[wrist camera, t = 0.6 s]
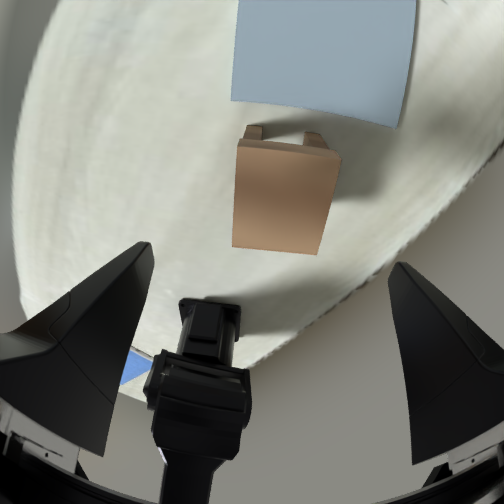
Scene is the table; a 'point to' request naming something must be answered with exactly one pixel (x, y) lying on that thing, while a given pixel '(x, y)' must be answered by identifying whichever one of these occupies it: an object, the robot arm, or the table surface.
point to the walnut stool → (282, 193)
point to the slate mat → (325, 55)
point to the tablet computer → (136, 365)
